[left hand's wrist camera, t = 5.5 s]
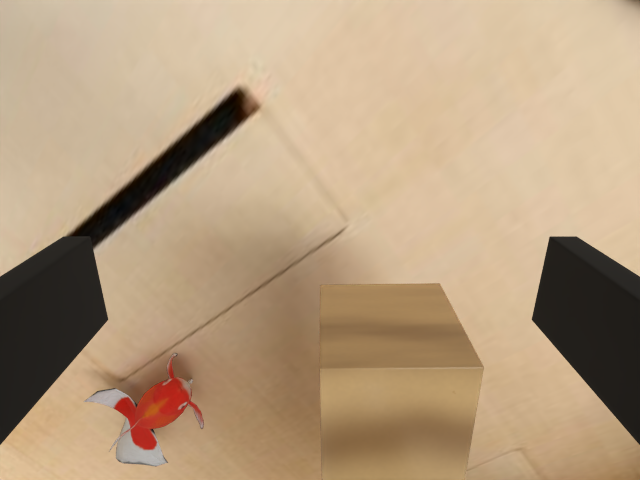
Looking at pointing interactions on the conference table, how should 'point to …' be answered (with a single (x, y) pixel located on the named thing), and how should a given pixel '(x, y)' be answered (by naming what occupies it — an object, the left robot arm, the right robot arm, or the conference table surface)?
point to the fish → (148, 417)
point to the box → (395, 384)
